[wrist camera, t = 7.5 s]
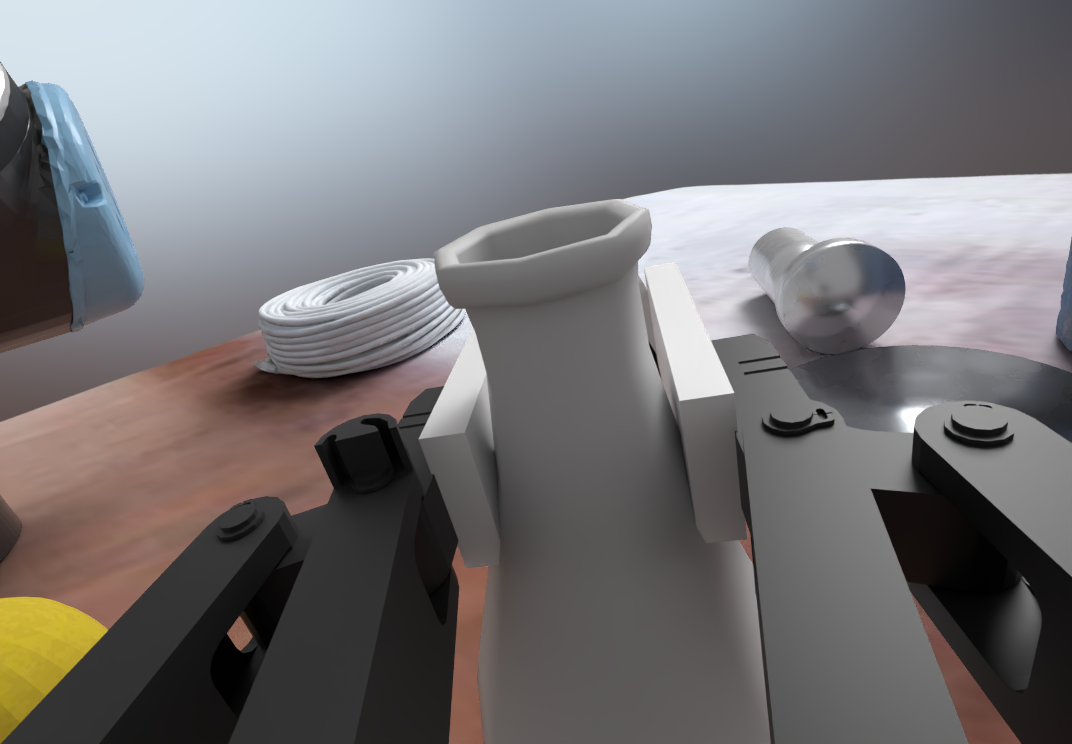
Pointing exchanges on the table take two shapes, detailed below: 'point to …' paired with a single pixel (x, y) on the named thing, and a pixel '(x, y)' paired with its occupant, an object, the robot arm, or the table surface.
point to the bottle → (1066, 307)
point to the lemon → (38, 652)
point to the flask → (595, 503)
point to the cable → (356, 320)
